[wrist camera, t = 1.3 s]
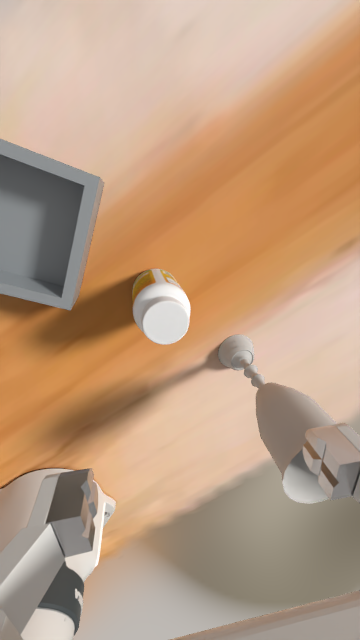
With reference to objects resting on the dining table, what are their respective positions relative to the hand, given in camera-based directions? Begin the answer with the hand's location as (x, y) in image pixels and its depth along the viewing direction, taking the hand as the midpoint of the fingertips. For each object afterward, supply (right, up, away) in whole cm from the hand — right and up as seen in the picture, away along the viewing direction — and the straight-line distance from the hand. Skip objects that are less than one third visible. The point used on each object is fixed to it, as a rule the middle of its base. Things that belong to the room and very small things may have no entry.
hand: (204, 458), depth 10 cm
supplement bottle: (-4, +9, +21) cm, 23 cm away
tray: (-16, +15, +16) cm, 27 cm away
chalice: (+7, +1, +26) cm, 27 cm away
